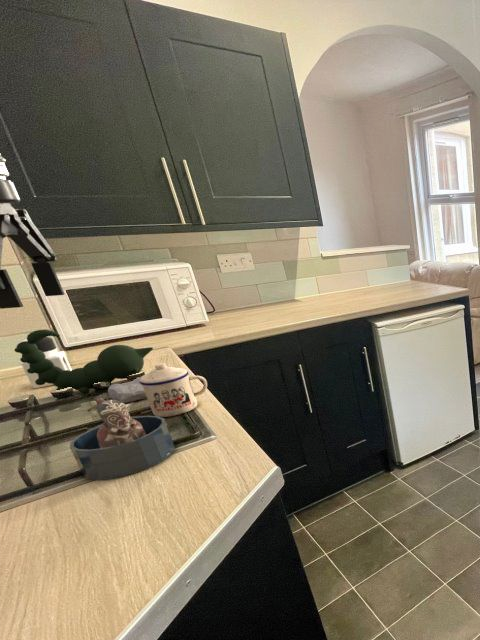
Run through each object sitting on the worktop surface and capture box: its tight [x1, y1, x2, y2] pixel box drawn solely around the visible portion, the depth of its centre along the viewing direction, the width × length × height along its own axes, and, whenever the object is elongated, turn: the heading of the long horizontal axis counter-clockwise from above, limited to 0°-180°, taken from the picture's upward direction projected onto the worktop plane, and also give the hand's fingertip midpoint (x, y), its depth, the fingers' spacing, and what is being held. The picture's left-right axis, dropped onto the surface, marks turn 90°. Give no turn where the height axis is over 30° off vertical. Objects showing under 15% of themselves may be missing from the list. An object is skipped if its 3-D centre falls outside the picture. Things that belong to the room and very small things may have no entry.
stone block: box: [107, 374, 147, 404], centre depth 110 cm, size 12×5×10 cm
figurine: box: [95, 398, 146, 448], centre depth 78 cm, size 7×7×12 cm
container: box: [18, 336, 73, 389], centre depth 119 cm, size 8×8×13 cm
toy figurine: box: [14, 329, 154, 395], centre depth 113 cm, size 9×19×25 cm
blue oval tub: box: [69, 415, 176, 481], centre depth 79 cm, size 13×14×6 cm
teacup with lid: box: [140, 362, 208, 418], centre depth 100 cm, size 12×9×12 cm
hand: (35, 301), depth 80 cm, fingers open, 13 cm apart
